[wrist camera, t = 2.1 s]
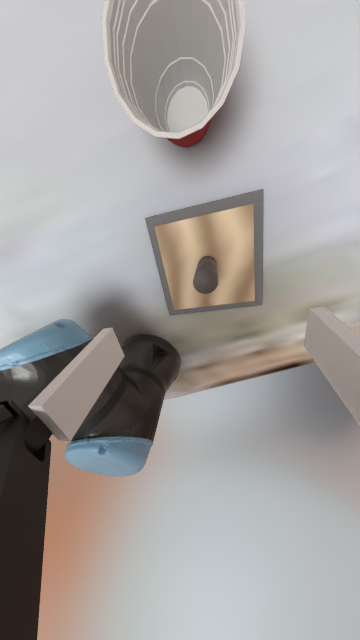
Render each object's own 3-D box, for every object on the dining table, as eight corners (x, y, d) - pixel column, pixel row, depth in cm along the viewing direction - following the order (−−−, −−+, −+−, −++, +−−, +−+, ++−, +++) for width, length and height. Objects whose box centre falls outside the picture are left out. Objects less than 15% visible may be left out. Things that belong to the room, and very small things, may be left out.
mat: (170, 313, 39) (169, 315, 38) (146, 218, 30) (145, 218, 30) (261, 303, 34) (262, 304, 34) (262, 189, 26) (263, 188, 26)
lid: (175, 307, 37) (163, 335, 28) (156, 226, 30) (133, 230, 22) (253, 298, 34) (267, 326, 25) (252, 203, 27) (271, 198, 18)
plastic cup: (250, 101, 22) (283, 1, 12) (193, 187, 27) (181, 170, 17) (182, 17, 20) (150, -192, 10) (133, 128, 25) (78, 68, 15)
